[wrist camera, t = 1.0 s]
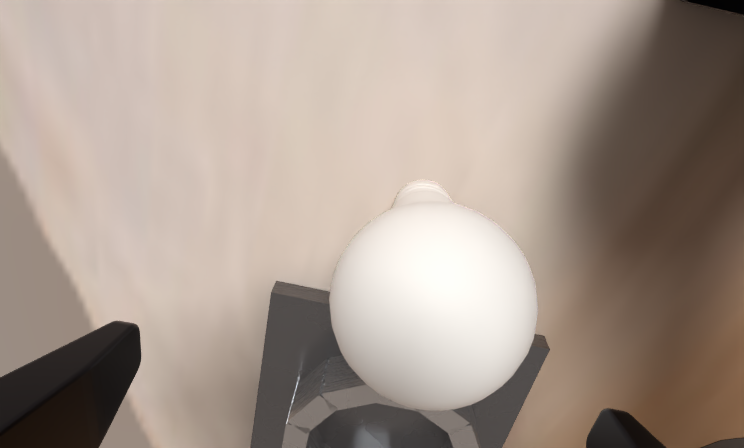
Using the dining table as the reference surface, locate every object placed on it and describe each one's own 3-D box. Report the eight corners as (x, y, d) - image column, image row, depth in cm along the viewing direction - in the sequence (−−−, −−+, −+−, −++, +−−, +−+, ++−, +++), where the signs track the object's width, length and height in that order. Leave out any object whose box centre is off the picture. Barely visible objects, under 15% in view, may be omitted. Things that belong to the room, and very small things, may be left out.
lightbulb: (341, 239, 23) (293, 431, 13) (373, 116, 20) (343, 238, 10) (463, 270, 23) (509, 480, 13) (511, 153, 20) (614, 306, 10)
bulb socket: (544, 336, 24) (565, 387, 21) (465, 503, 31) (472, 561, 27) (276, 281, 24) (256, 324, 21) (251, 461, 30) (233, 517, 27)
